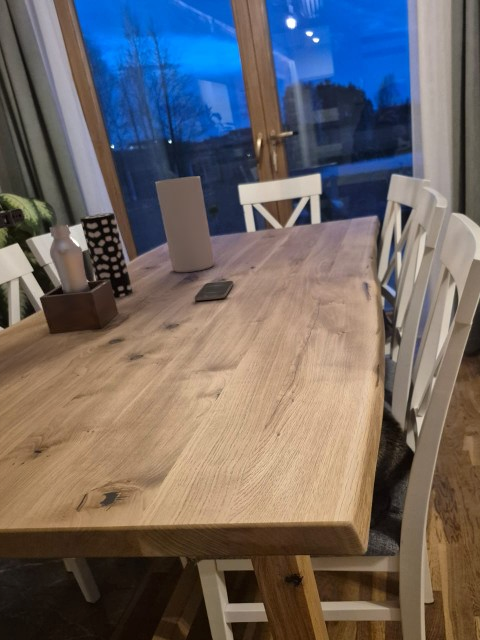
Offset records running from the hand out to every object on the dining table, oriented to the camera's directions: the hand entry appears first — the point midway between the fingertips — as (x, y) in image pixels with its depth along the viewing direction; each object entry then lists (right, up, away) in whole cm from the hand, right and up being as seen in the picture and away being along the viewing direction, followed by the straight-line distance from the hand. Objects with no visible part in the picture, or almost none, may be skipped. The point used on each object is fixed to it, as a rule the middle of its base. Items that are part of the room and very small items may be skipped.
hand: (5, 215), depth 109 cm
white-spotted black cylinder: (+7, -7, +44) cm, 45 cm away
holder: (+7, -18, +21) cm, 28 cm away
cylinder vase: (+24, +4, +64) cm, 69 cm away
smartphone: (+35, -8, +33) cm, 49 cm away
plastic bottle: (+7, -17, +20) cm, 27 cm away
